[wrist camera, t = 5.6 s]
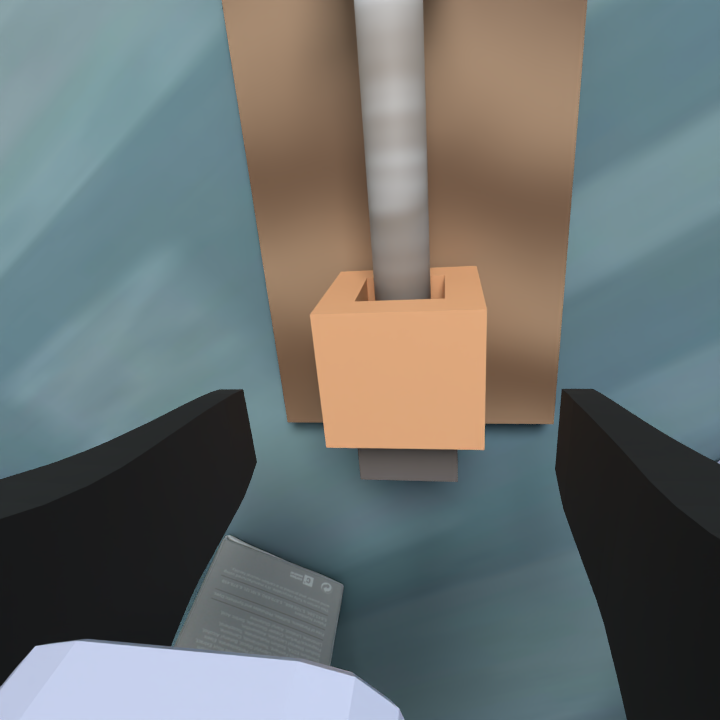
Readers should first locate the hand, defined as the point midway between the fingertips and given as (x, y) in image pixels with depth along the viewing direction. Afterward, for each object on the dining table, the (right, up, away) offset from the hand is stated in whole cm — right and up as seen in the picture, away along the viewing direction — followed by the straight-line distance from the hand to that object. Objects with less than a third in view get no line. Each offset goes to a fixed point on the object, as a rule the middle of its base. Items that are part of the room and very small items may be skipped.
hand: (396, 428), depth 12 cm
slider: (+1, +3, +6) cm, 7 cm away
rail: (+1, +7, +5) cm, 9 cm away
